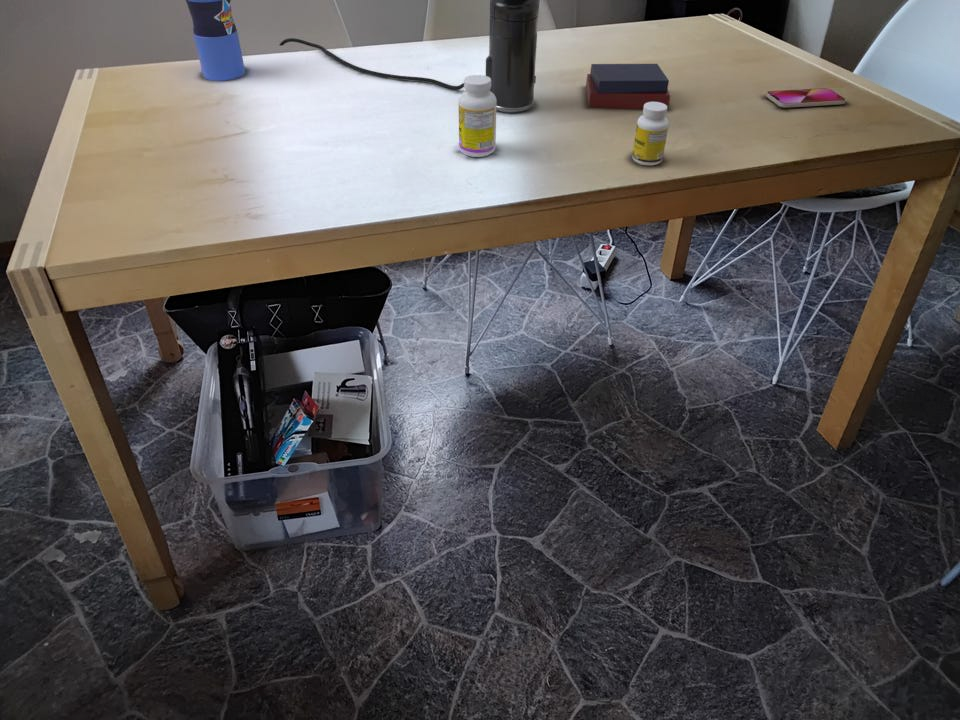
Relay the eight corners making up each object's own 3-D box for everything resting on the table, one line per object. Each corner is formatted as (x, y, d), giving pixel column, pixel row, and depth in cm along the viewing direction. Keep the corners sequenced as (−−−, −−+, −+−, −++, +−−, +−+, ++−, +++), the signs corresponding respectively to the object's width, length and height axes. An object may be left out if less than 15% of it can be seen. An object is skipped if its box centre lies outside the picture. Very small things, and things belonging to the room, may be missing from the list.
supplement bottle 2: (628, 153, 132) (636, 100, 125) (657, 152, 132) (666, 99, 126) (636, 167, 127) (645, 112, 121) (666, 165, 128) (676, 111, 122)
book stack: (588, 107, 148) (591, 80, 144) (585, 87, 156) (588, 61, 153) (667, 110, 147) (672, 83, 144) (660, 89, 156) (664, 63, 152)
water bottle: (194, 78, 158) (162, -51, 142) (215, 64, 165) (188, -61, 149) (233, 82, 156) (205, -48, 140) (253, 68, 163) (229, -58, 147)
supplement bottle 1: (465, 140, 135) (465, 70, 127) (499, 145, 134) (502, 75, 125) (453, 155, 130) (452, 83, 122) (488, 160, 129) (490, 88, 120)
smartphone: (848, 100, 150) (782, 104, 147) (846, 105, 151) (781, 109, 148) (828, 87, 155) (764, 91, 153) (826, 92, 156) (763, 95, 153)
